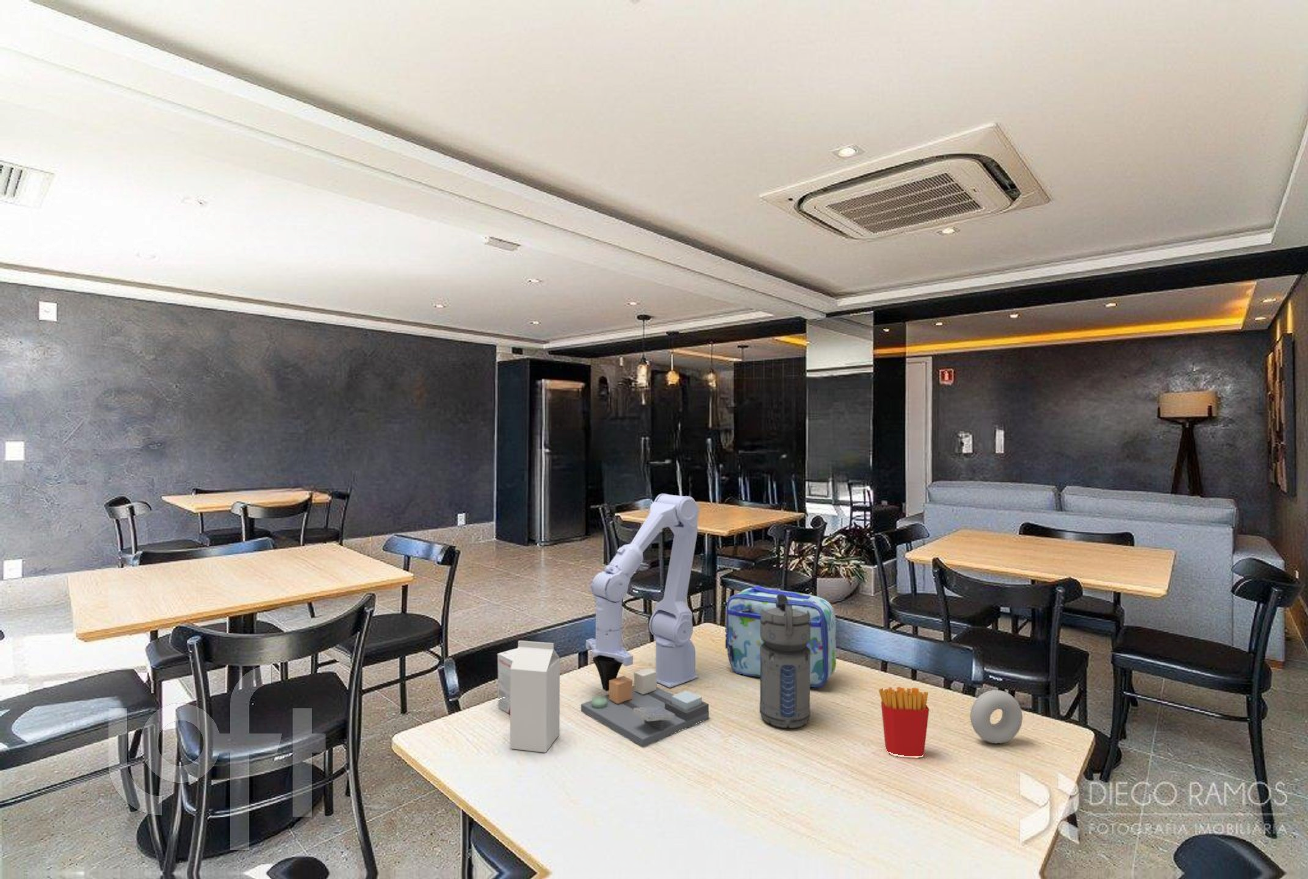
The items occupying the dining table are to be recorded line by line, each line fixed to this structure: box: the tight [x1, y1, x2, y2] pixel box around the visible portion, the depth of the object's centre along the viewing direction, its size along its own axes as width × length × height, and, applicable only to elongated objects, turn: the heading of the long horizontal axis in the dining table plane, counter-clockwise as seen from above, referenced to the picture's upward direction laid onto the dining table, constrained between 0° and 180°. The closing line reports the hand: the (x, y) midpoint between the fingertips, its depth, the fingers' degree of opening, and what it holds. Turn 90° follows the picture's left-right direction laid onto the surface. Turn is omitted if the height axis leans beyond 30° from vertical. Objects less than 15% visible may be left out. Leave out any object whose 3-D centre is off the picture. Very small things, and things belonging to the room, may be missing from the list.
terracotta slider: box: [608, 675, 633, 704], centre depth 131 cm, size 4×3×4 cm
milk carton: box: [509, 640, 561, 753], centre depth 116 cm, size 7×7×19 cm
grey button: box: [672, 689, 703, 711], centre depth 126 cm, size 4×4×2 cm
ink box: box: [497, 647, 518, 715], centre depth 129 cm, size 9×5×12 cm, turn 44°
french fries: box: [878, 686, 930, 756], centre depth 112 cm, size 8×4×12 cm, turn 83°
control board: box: [580, 685, 710, 748], centre depth 127 cm, size 18×20×3 cm
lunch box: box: [724, 585, 837, 688], centre depth 148 cm, size 26×11×21 cm, turn 58°
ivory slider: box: [633, 667, 658, 694], centre depth 135 cm, size 4×3×4 cm
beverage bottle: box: [759, 594, 811, 729], centre depth 126 cm, size 10×13×25 cm
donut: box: [969, 689, 1024, 744], centre depth 116 cm, size 10×3×10 cm, turn 96°
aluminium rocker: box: [633, 706, 675, 721], centre depth 119 cm, size 7×4×1 cm, turn 132°
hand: (608, 689), depth 134 cm, fingers closed
